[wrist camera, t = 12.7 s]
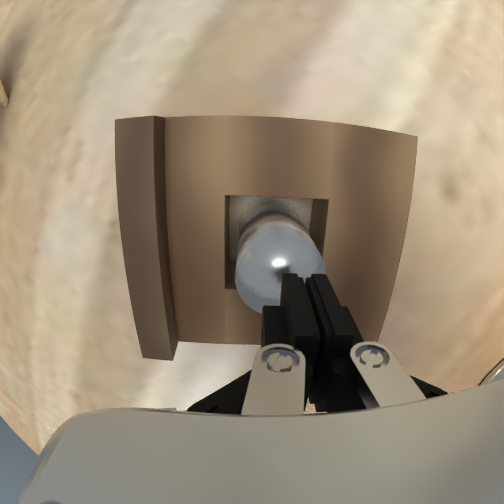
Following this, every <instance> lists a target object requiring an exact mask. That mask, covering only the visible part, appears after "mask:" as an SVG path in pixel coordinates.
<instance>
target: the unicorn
mask: <svg viewBox="0 0 504 504" xmlns="http://www.w3.org/2000/svg"><path fill="white" fill-rule="evenodd" d="M7 104H8V96H7V95H6V93H5V91H4V88H3V84H2V81H1V79H0V105H1V106H3V107H6V106H7Z"/></svg>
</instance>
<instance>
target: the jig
mask: <svg viewBox="0 0 504 504" xmlns="http://www.w3.org/2000/svg"><path fill="white" fill-rule="evenodd" d="M417 141H418V137H417V136H412V135H408V134H403V133H398V132H392V131H387V130H382V129H376V128H370V127H363V126H357V125H350V124H342V123H334V122H326V121H316V120H306V119H294V118H279V117H259V116H187V117H167V118H164V117H159V116H144V117H134V118H124V119H116V120H115V162H116V183H117V198H118V210H119V221H120V230H121V239H122V247H123V255H124V262H125V269H126V276H127V282H128V288H129V294H130V300H131V305H132V310H133V315H134V320H135V325H136V330H137V335H138V339H139V343H140V348H141V352H142V356H143V358H150V359H159V360H170V361H173V358H174V355H175V351H176V348H177V345H178V341H182V342H198V343H218V344H251V345H261V325H262V314H261V313H259V312H256V311H255V310H253V309H252V308H250V307H249V306H248V305H247V304H246V303H245V302H244V301H243V300H242V298H241V297H240V295H239V293H238V291H237V288H236V284H235V272H236V262H229V195H243V196H274V197H297V198H313V204H312V215H311V226H310V237H311V239H312V241H313V242H314V244H315V246H316V248H317V249H318V251H319V253H320V255H321V257H322V258H323V261H324V264H325V268H326V275H327V277H328V279H329V281H330V283H331V285H332V287H333V290H334V292H335V294H336V296H337V298H338V300H339V302H340V304H341V306H347V307H348V309H349V311H350V313H351V315H352V317H353V319H354V321H355V323H356V325H357V327H358V329H359V332H360V334H361V336H362V338H363V340H364V342H367V341H378V339H379V336H380V333H381V330H382V326H383V323H384V320H385V316H386V313H387V309H388V306H389V302H390V298H391V295H392V291H393V287H394V283H395V279H396V275H397V271H398V266H399V262H400V257H401V253H402V248H403V243H404V238H405V233H406V227H407V222H408V216H409V210H410V203H411V197H412V189H413V182H414V173H415V164H416V154H417Z"/></svg>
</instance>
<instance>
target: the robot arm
mask: <svg viewBox="0 0 504 504" xmlns="http://www.w3.org/2000/svg"><path fill="white" fill-rule="evenodd" d="M308 397H309V402H310V404H315V409H316V412H328V413H315V414H303V412H304V411H305V407H306V403H307V399H308ZM17 504H504V360H503V361H502V362H501V363H499V364H498V365H497V366H496V367H495V368H494V369H493V370H492V371H491V372H490V373H489V375H488V376H487V377H486V378H485V379H484V380H483V382H482V383H481V384H480V386H477V387H474V388H470V389H466V390H462V391H459V392H451V393H450V394H448V393H447V392H445V391H443V390H442V389H440V388H437V387H435V386H433V385H431V384H428V383H426V382H424V381H422V380H419V379H417V378H415V377H413V376H410V375H409V374H408V373H407V371H406V370H405V369H404V367H403V366H402V365H401V363H400V362H399V361H398V359H397V358H396V357H395V355H394V354H393V353H392V352H391V351H390V350H389V349H388V348H387V347H385V346H384V345H382V344H379V343H376V342H364V340H363V338H362V336H361V334H360V332H359V329H358V327H357V325H356V323H355V321H354V319H353V317H352V315H351V313H350V311H349V309H348V307H347V306H341V304H340V302H339V300H338V298H337V296H336V294H335V292H334V290H333V287H332V285H331V283H330V281H329V279H328V277H327V275H326V274H311V277H306V280H305V283H304V280H303V277H298V274H297V273H283V275H282V284H281V296H280V306H274V305H263V309H262V325H261V349H260V350H259V351H258V352H257V354H256V356H255V359H254V364H253V368H252V370H250V371H249V372H247V373H245V374H244V375H242V376H241V377H239V378H237V379H236V380H234V381H232V382H231V383H229V384H227V385H226V386H224V387H222V388H221V389H219V390H217V391H216V392H214V393H212V394H210V395H209V396H207V397H205V398H203V399H202V400H200V401H198V402H196V403H195V404H193V405H192V406H191V407H189V408H188V409H187V411H177V410H176V408H162V409H153V408H110V409H101V410H94V411H89V412H85V413H81V414H78V415H75V416H73V417H71V418H69V419H68V420H67V421H65V422H64V423H63V424H62V425H61V426H60V427H59V428H58V429H57V430H56V431H55V432H54V433H53V435H52V436H51V438H50V439H49V441H48V442H47V444H46V445H45V447H44V448H43V450H42V452H41V453H40V455H39V457H38V459H37V461H36V462H35V465H34V467H33V469H32V471H31V473H30V475H29V477H28V479H27V481H26V483H25V485H24V488H23V490H22V493H21V495H20V498H19V501H18V503H17Z"/></svg>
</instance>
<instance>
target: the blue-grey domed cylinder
mask: <svg viewBox="0 0 504 504" xmlns="http://www.w3.org/2000/svg"><path fill="white" fill-rule="evenodd" d="M283 273H297V274H298V277H303V280H304V283H305V280H306V277H311V274H326V268H325V264H324V261H323V258H322V257H321V255H320V253H319V251H318V249H317V248H316V246H315V244H314V242H313V241H312V239H311V237H310V235H309V234H308V232H307V230H306V228H305V227H304V225H303V223H302V222H301V220H300V218H299V216H298V215H297V213H296V211H295V210H294V208H293V207H292V206H291V205H290V204H289V203H288V202H287V201H286V200H284V199H282V198H279V197H274V196H263V197H260V198H257V199H255V200H253V201H252V202H251V203H249V204H248V205H247V206H246V208H245V209H244V211H243V213H242V215H241V218H240V227H239V238H238V249H237V260H236V272H235V284H236V288H237V291H238V293H239V295H240V297H241V298H242V300H243V301H244V302H245V303H246V304H247V305H248V306H249V307H250V308H252V309H253V310H255V311H256V312H259V313H261V314H262V309H263V305H274V306H280V296H281V284H282V275H283Z"/></svg>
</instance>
